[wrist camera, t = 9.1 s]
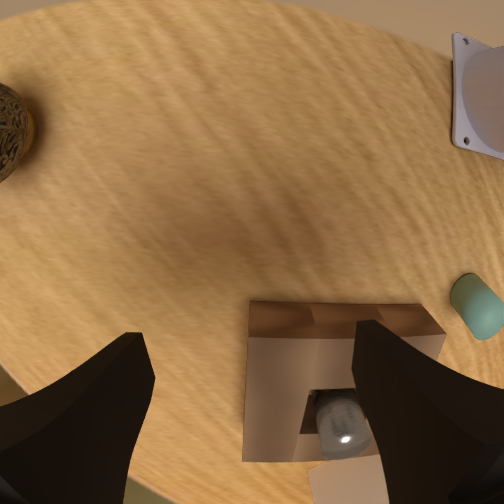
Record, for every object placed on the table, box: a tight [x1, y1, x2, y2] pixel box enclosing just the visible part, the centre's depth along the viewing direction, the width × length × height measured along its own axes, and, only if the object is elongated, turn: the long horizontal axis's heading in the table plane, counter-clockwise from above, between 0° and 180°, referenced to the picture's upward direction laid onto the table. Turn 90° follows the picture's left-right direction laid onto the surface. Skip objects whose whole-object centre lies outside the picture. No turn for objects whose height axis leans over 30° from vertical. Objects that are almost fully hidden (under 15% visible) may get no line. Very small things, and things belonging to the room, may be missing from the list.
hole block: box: [242, 301, 447, 462], centre depth 20 cm, size 12×12×4 cm
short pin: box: [450, 274, 504, 340], centre depth 18 cm, size 3×3×4 cm
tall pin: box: [310, 388, 371, 460], centre depth 19 cm, size 3×3×7 cm
